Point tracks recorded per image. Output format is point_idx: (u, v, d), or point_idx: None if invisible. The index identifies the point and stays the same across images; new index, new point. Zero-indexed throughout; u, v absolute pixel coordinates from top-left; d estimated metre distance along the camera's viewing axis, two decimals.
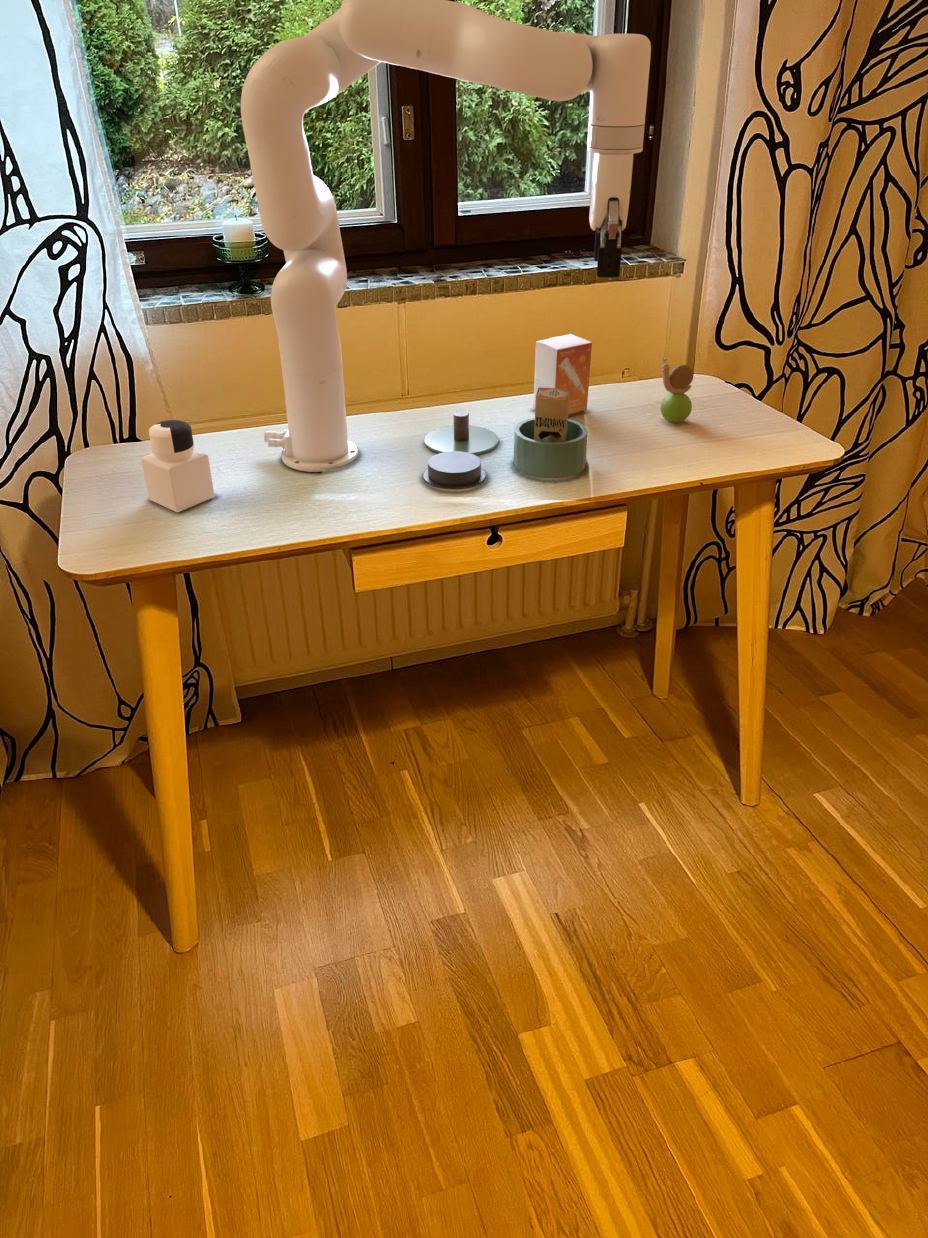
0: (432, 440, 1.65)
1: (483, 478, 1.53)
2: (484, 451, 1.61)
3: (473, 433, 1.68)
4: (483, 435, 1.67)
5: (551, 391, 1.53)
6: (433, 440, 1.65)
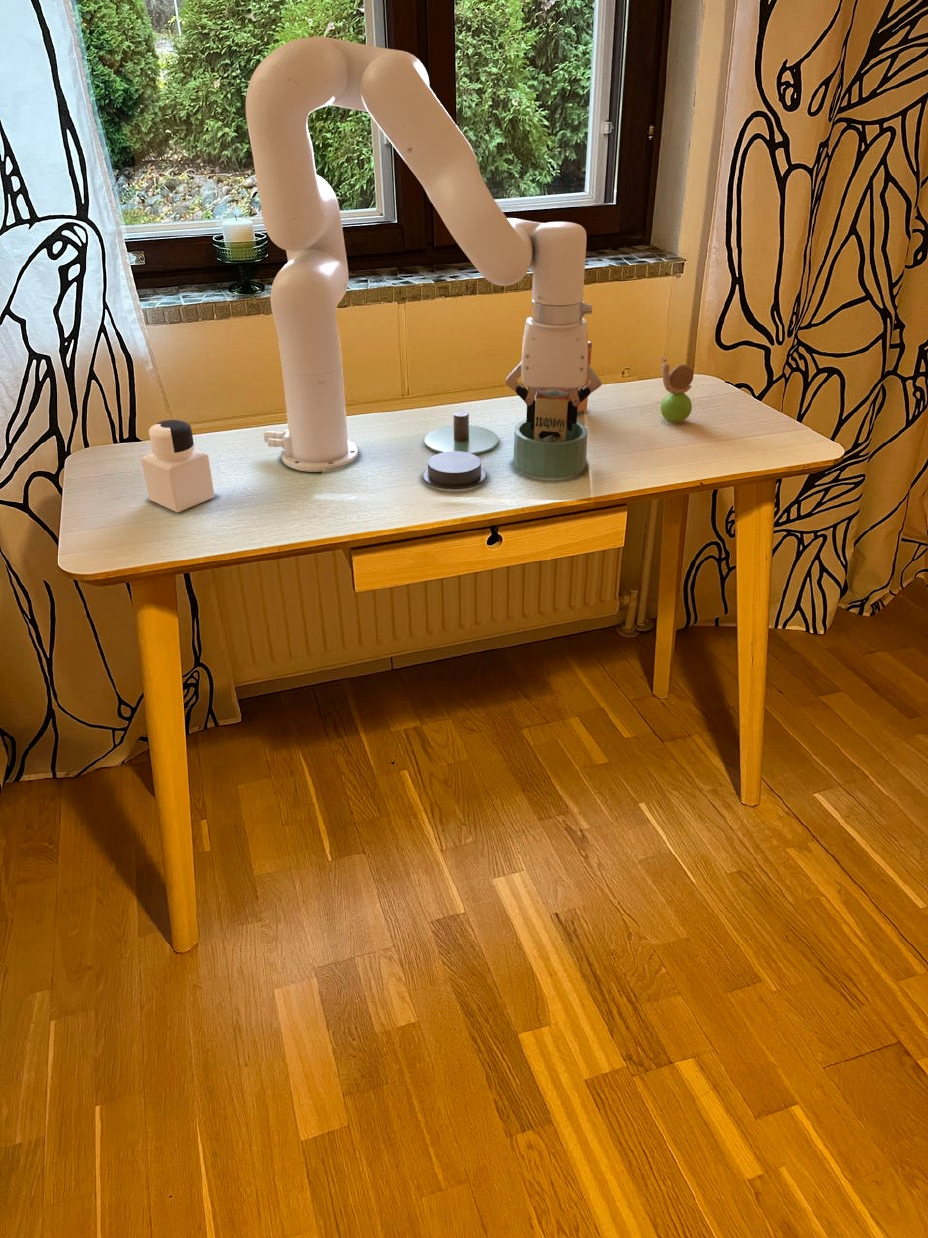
0: (432, 440, 1.65)
1: (483, 478, 1.53)
2: (484, 451, 1.61)
3: (473, 433, 1.68)
4: (483, 435, 1.67)
5: (551, 391, 1.53)
6: (433, 440, 1.65)
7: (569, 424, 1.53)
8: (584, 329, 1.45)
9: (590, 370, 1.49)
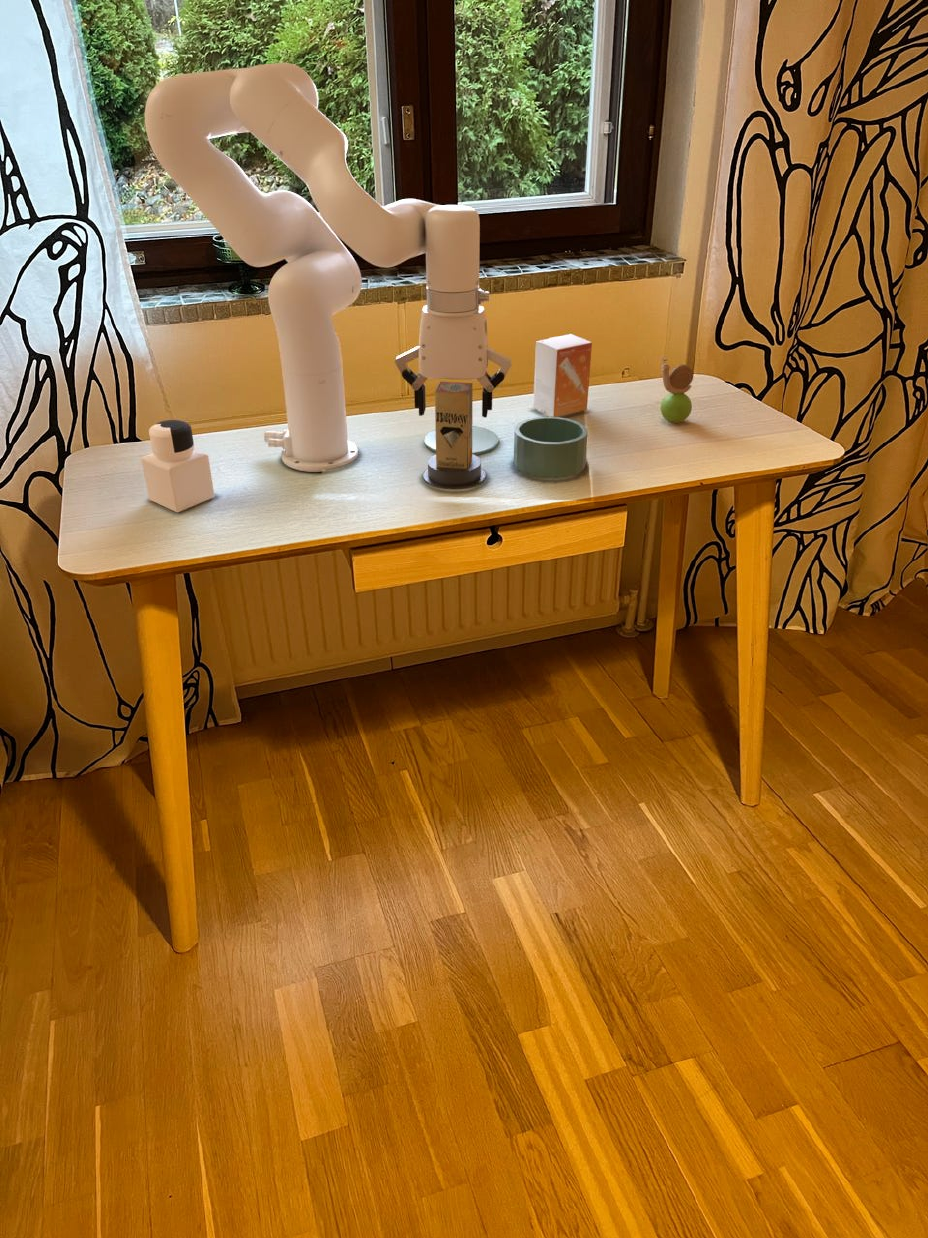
0: (432, 440, 1.65)
1: (483, 478, 1.53)
2: (484, 451, 1.61)
3: (473, 433, 1.68)
4: (483, 435, 1.67)
5: (453, 385, 1.47)
6: (433, 440, 1.65)
7: (483, 410, 1.46)
8: (481, 317, 1.39)
9: (494, 354, 1.43)
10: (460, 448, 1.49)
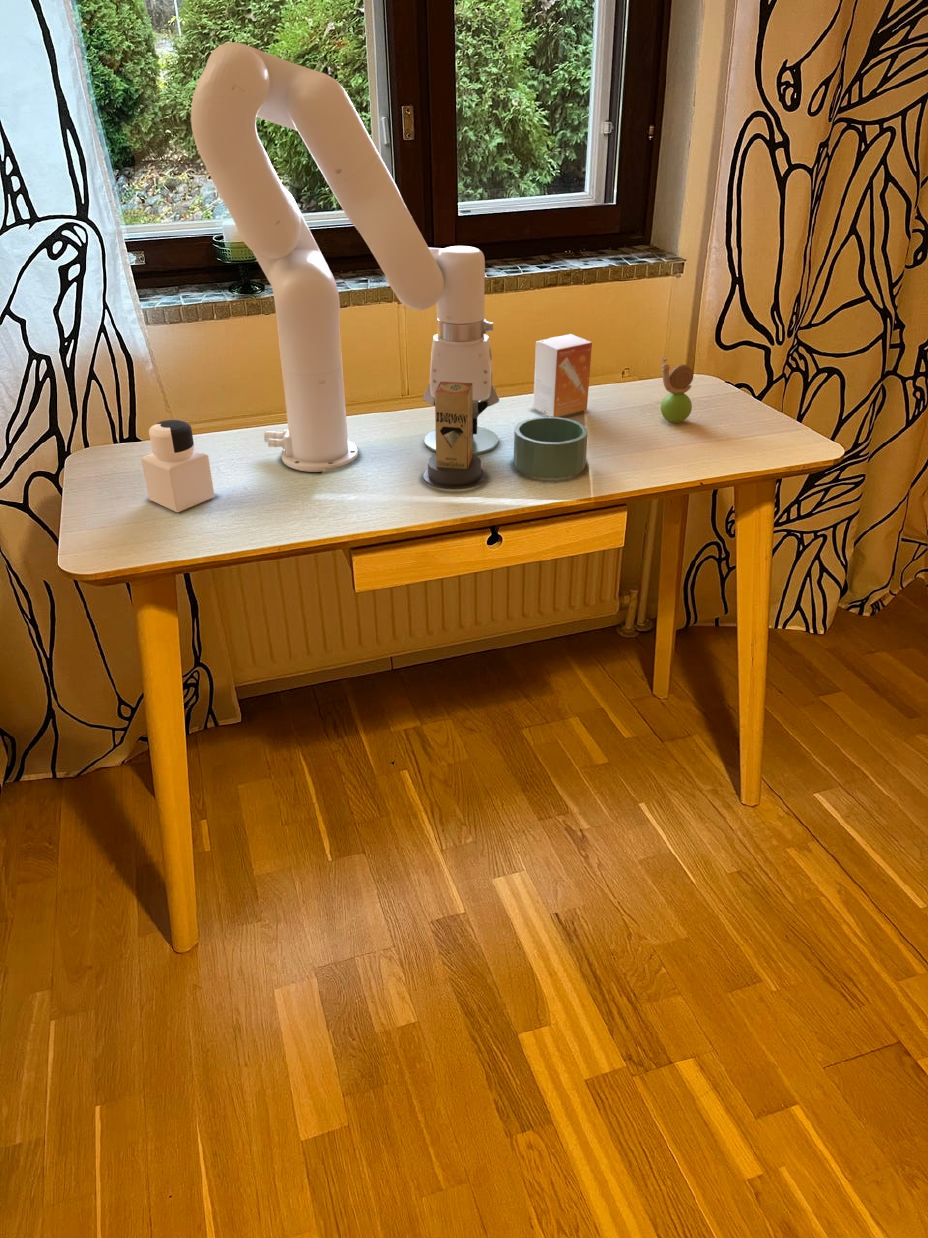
0: (432, 440, 1.65)
1: (483, 478, 1.53)
2: (484, 451, 1.61)
3: None
4: (483, 435, 1.67)
5: (453, 385, 1.47)
6: (433, 440, 1.65)
7: None
8: (486, 345, 1.55)
9: (491, 386, 1.60)
10: (460, 448, 1.49)
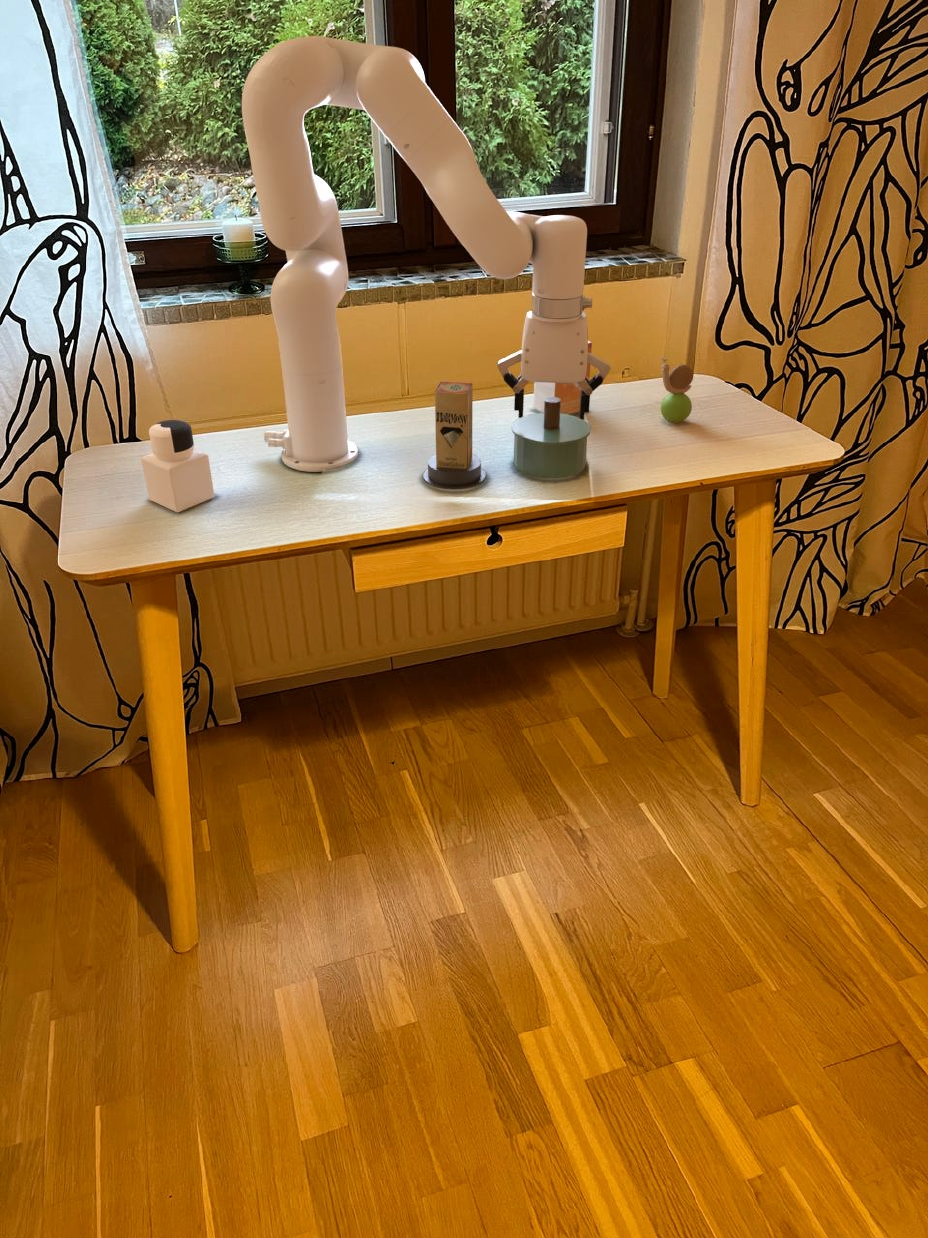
0: (520, 428, 1.54)
1: (483, 478, 1.53)
2: (578, 440, 1.51)
3: (563, 421, 1.57)
4: (574, 423, 1.56)
5: (453, 385, 1.47)
6: (522, 429, 1.54)
7: (581, 413, 1.52)
8: (584, 323, 1.44)
9: (594, 358, 1.48)
10: (460, 448, 1.49)
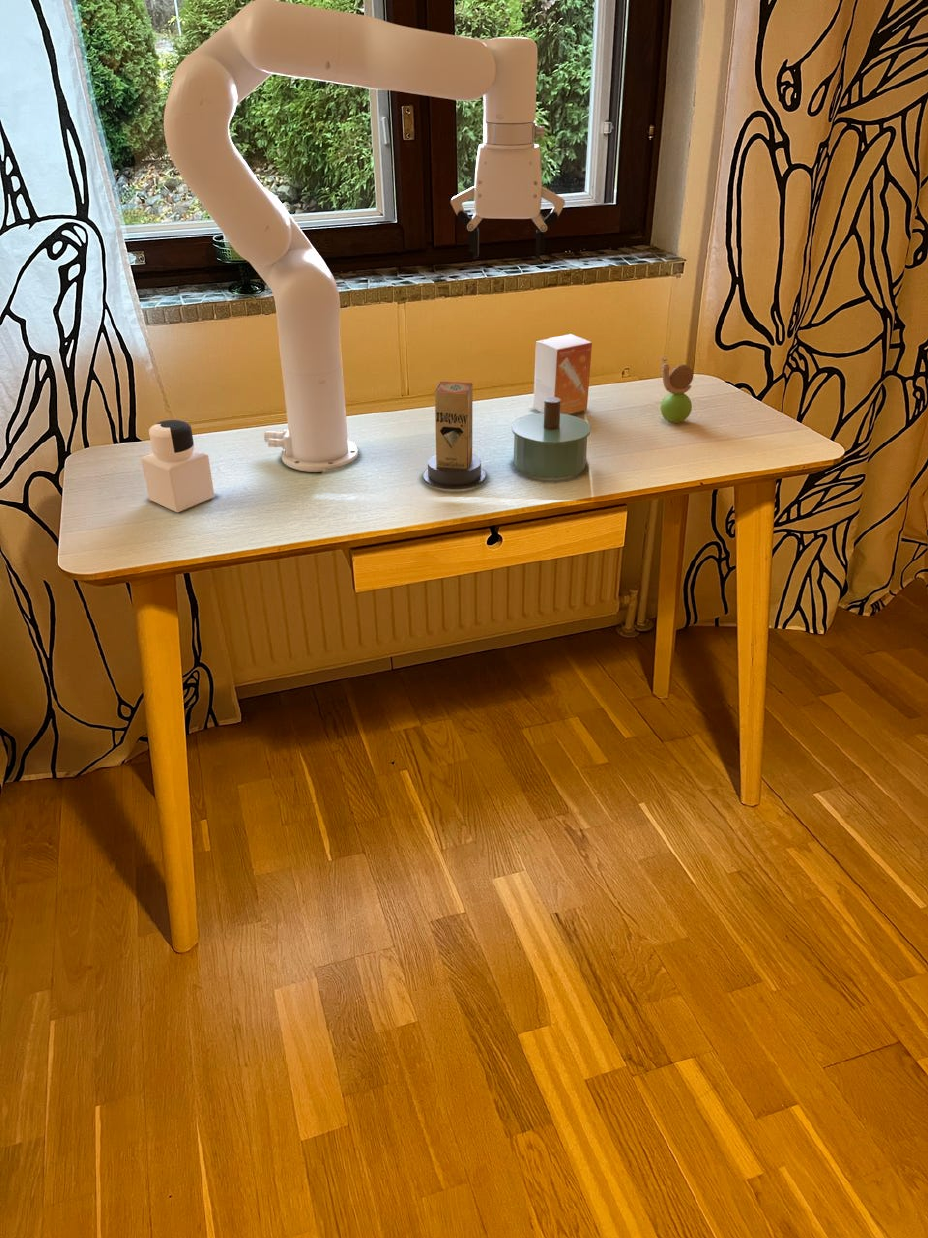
0: (520, 428, 1.54)
1: (483, 478, 1.53)
2: (578, 440, 1.51)
3: (563, 421, 1.57)
4: (574, 423, 1.56)
5: (453, 385, 1.47)
6: (522, 429, 1.54)
7: (536, 251, 1.50)
8: (537, 152, 1.42)
9: (548, 192, 1.46)
10: (460, 448, 1.49)
